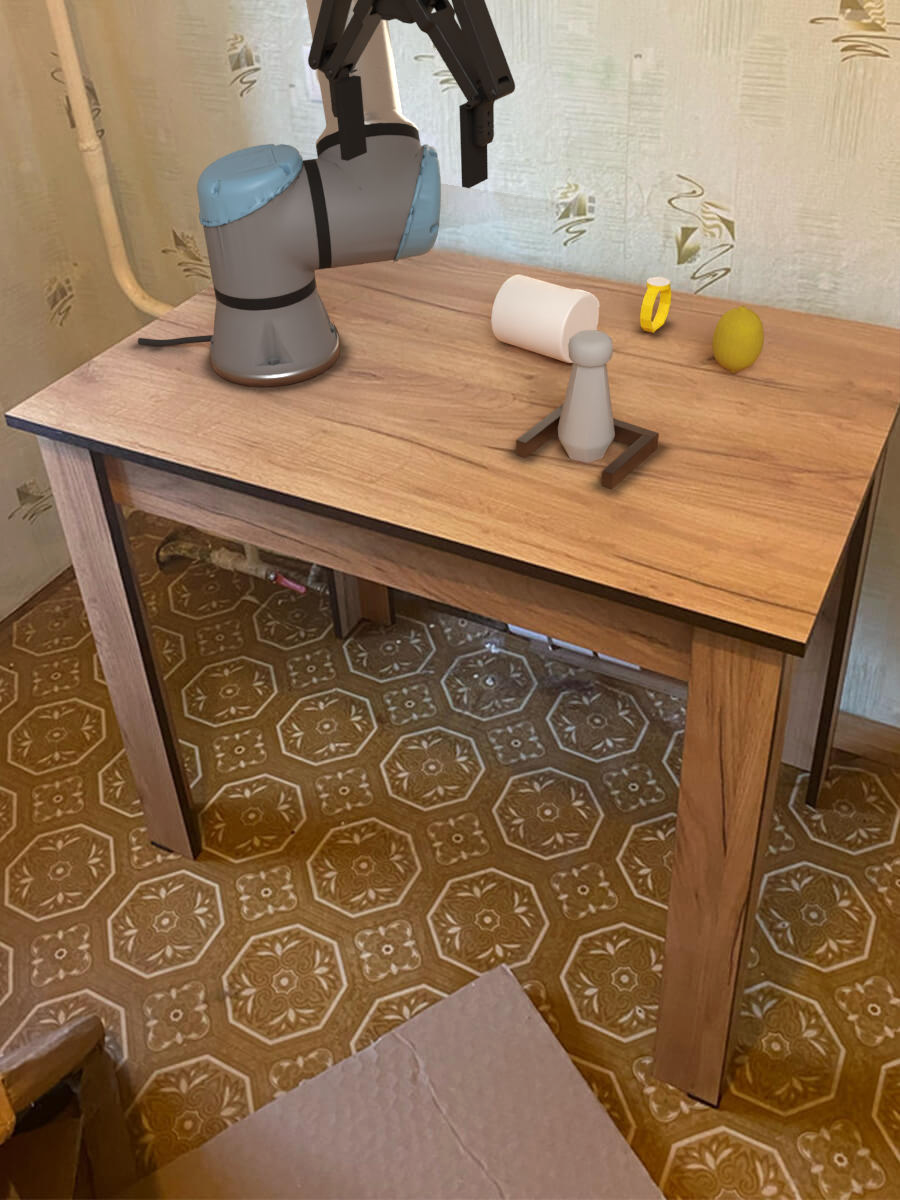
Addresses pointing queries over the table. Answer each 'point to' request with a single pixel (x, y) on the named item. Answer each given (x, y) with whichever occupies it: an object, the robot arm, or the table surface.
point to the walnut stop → (625, 432)
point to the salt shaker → (587, 398)
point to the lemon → (738, 339)
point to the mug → (542, 315)
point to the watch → (649, 299)
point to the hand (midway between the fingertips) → (412, 169)
